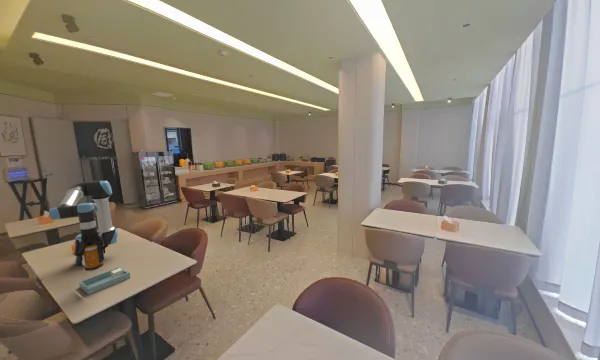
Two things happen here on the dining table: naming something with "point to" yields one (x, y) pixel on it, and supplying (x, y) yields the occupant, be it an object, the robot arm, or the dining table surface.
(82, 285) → the teal tray
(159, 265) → the dining table surface
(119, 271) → the cream cube
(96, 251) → the canister
